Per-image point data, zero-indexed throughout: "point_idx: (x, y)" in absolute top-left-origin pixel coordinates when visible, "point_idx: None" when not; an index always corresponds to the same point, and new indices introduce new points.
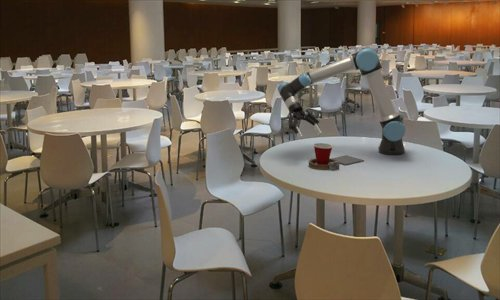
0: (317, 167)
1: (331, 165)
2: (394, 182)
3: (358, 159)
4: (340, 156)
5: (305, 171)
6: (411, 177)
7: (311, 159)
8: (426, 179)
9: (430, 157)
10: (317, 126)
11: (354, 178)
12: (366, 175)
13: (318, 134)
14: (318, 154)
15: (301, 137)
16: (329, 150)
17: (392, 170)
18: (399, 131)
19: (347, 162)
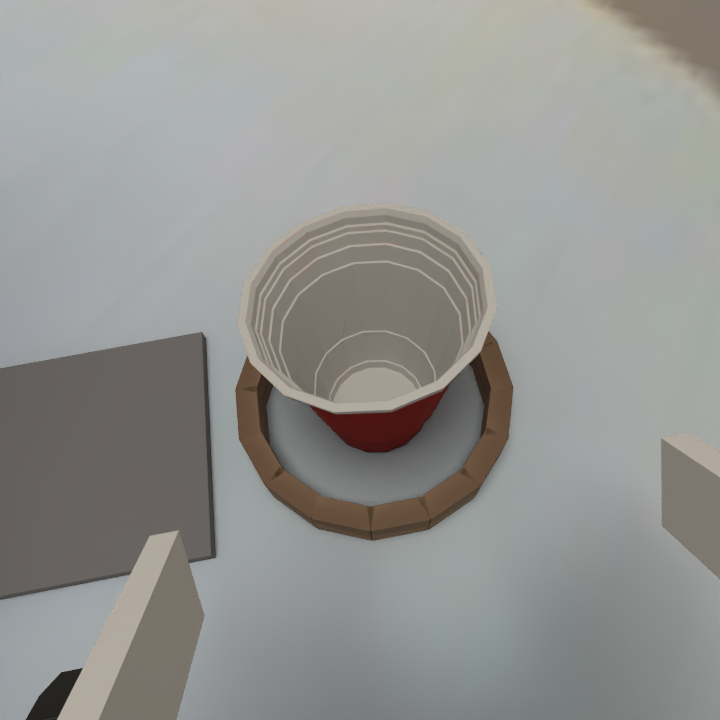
0: None
1: None
2: (220, 21)
3: (3, 404)
4: (32, 589)
5: (586, 331)
6: (90, 45)
7: (439, 508)
8: (65, 12)
9: None
10: (94, 681)
11: (349, 110)
12: (252, 127)
13: (195, 610)
14: (445, 314)
15: (665, 479)
16: (337, 249)
17: (52, 146)
18: None
19: (151, 366)
